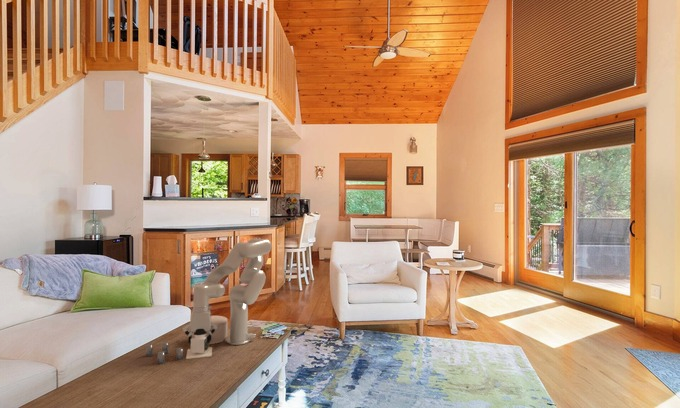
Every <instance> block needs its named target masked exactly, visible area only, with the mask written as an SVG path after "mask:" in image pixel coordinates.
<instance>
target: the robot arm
mask: <svg viewBox="0 0 680 408" xmlns="http://www.w3.org/2000/svg"><path fill="white" fill-rule="evenodd" d="M272 248H273V245H272V242H271V241H270V240H269V239H266V238H251V239H249V240H248V242H237V243H235V244H234V245H233V247H232V249H231V250H230V251H229V253H228V254H227V256H226V258H225V259H224V261H223V262H222V263H221V264H220V265H218V266H217V267H216V268H214V269H213V270H212V271H211V272H210V273H209V274H208V275H207V277H206V278H205V279H204V281H203V283H202V284H196V285H194V287H193V298H192V299H193V303H192V305H193V306H192V311H191V314H190V318H189V319H190V320H189V323H188V324H187V325H185V326H184V327H182V331H183V332H184V334H185V335H186V336H187V337H188V338H187V342H188V343H189V345H190V346H191V338H193V335H192V334H194V332H195V331H196V330H197V329H204V330H205V331H207V332H208V333H209V336H208V343H210V341H211V335H212V334H213V333H214V331H215V330H216V328H217V327H218V325H216V324H214V323H212V322H211V316H212V313H211V310H210V309H212V308H213V307H212V305H210V299H212V298H214V299H218V298H221V297H223V296H224V295H225V293H226V288H225V286H224V285H223V284H222V283H220V280H221V279H223V278H224V277H225V276H226V277H227V276H229V275H231V274H234V273H235V272H236V271H238V269H239V267H240V265H241V264H242V262H243V261H244V259H248V261H247V263H246V265H245V267H244V268H243V270H242V272H241V275H240V282H241V283H242V284H244V285H242V284H237V285H233V286H232V287H231V288H230V291H229V293H228V294H229V295H228V298H229V302H230V303H229V304H230V316H229V317H230V318H229V319H230V323H229V325H230V326H229V337H228V338H226V343H227V344H229V345H232V346H241V345H242V346H243V345H245V344H248V343H249V342H250V341H251V338H256V333H253V332H251V333H249V331H248V324H249V323H248V320H249V318H248V317H249V308H248V306H250V305H251V306H252V304H255V303H256V301H257V300H258V298H259V296H260V294H261V291H262V290H263V287H265V286H264V285H265V284H266V281H267V280H266V279H267V277H266V273H265V272H264V270H261V269H262V266H263V264H264V255H268V254H269V253H270V252H271V250H272ZM211 326H213V327H214V328H213V329H212V330H210V328H211ZM188 328H189V330H188Z"/></svg>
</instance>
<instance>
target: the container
mask: <svg viewBox="0 0 680 408" xmlns="http://www.w3.org/2000/svg"><path fill="white" fill-rule="evenodd" d="M211 322H212V323H214V324H216V325H218V327H217V328H216V330H215V331H214V333H213V334H212V335H211V341H210V343H209V345H216V344H220V343H222V342H224V341H225V339H227V337H228V322H229V320H228V318H227V317H226V316H224V315H223V316H222V315H211ZM213 328H214V327H213V326H211V328H210V330H212V329H213ZM206 334H209V333H208V332H207V331H206ZM215 343H216V344H215Z"/></svg>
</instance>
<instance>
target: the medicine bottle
mask: <svg viewBox="0 0 680 408" xmlns="http://www.w3.org/2000/svg"><path fill="white" fill-rule="evenodd" d="M208 336H209V334H206V331H205V330H204V329H197V330H196V331H195V332H193V336H192V338H191V345H190V349H191V353H205V351H206V350H207V349H208V348H209V347H210V344H209V343H208Z"/></svg>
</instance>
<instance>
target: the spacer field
mask: <svg viewBox="0 0 680 408" xmlns="http://www.w3.org/2000/svg"><path fill="white" fill-rule="evenodd" d="M153 349H154V344H147V345H146V346H145V357H152V356H153V355H154V354H153V353H154V351H153ZM168 353H169V342H168V341H164V342H162V343H161V351H158V352H157V364H158V365H162V364H165V361H166V358H165V357H166V356H165V355H166V354H168ZM175 353H176V358H175V359H176V361H182V360H183V359H184V348H183V347H178V348H176V351H175Z"/></svg>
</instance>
